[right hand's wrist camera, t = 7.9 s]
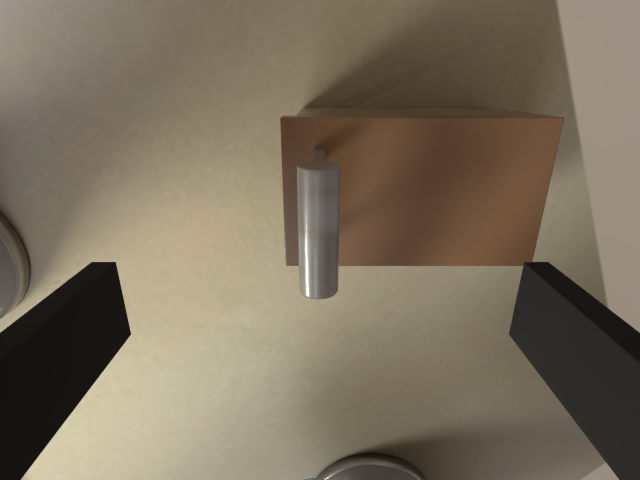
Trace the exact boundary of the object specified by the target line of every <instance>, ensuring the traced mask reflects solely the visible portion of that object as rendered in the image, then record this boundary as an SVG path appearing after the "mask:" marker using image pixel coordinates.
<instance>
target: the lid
mask: <svg viewBox="0 0 640 480" xmlns="http://www.w3.org/2000/svg"><path fill="white" fill-rule="evenodd" d="M280 119H281V147H282V175H283V203H284V231H285V259H286V266H299V286H300V292H301V293H302V295H304V296H306V297H308V298H312V299H326V298H329V297H332V296H334V295H335V294H336V293H337V291H338V266H524V262H532V260H533V256H534V251H535V247H536V242H537V238H538V233H539V229H540V224H541V220H542V215H543V211H544V206H545V202H546V197H547V192H548V188H549V183H550V179H551V174H552V170H553V165H554V161H555V156H556V152H557V147H558V143H559V138H560V134H561V129H562V124H563V120H564V118H563V117H555V116H282V117H281V118H280Z"/></svg>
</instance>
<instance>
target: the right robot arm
mask: <svg viewBox="0 0 640 480" xmlns="http://www.w3.org/2000/svg"><path fill="white" fill-rule="evenodd" d="M28 283H29V264H28V259H27V255H26V252H25V249H24V247H23V244H22V242H21V240H20V238H19V237H18V235H17V234H16V232H15V230H14V229H13V228H12V226H11V225H10V224H9V222H8V221H7V220H6V219H5V218H4V217H3V216H2V215H1V214H0V319H1V318H2V317H3V316H5V315H6V314H7V313H9V312H10V311H12V310H13V309H14V308H15V307H16V306H17V305H18V304H19V303H20V302H21V300H22V299H23V297H24V295H25V293H26V291H27V287H28ZM130 335H131V332H130V327H129V323H128V318H127V313H126V309H125V304H124V299H123V294H122V290H121V285H120V280H119V276H118V271H117V266H116V262H91V263H90V264H89V265H88V266H86V267H85V268H84V269H82V270H81V271H80V272H78V273H77V274H76V275H75V276H73V277H72V278H71V279H69V280H68V281H67V282H66V283H64V284H63V285H62V286H60V287H59V288H58V289H56V290H55V291H54V292H53V293H51V294H50V295H49V296H47V297H46V298H45V299H44V300H42V301H41V302H40V303H38V304H37V305H36V306H34V307H33V308H32V309H31V310H29V311H28V312H27V313H25V314H24V315H23V316H22V317H20V318H19V319H18V320H16V321H15V322H14V323H12V324H11V325H10V326H9V327H7V328H6V329H5V330H3V331H2V332H1V333H0V480H21V478H22V477H23V476H24V474H25V473H26V472H27V470H28V469H29V468H30V467H31V465H32V464H33V463H34V461H35V460H36V459H37V457H38V456H39V455H40V453H41V452H42V451H43V449H44V448H45V447H46V445H47V444H48V443H49V442H50V440H51V439H52V438H53V436H54V435H55V434H56V432H57V431H58V430H59V428H60V427H61V426H62V424H63V423H64V422H65V420H66V419H67V418H68V417H69V415H70V414H71V413H72V411H73V410H74V409H75V407H76V406H77V405H78V403H79V402H80V401H81V399H82V398H83V397H84V395H85V394H86V393H87V392H88V390H89V389H90V388H91V386H92V385H93V384H94V382H95V381H96V380H97V378H98V377H99V376H100V374H101V373H102V372H103V370H104V369H105V368H106V367H107V365H108V364H109V363H110V361H111V360H112V359H113V357H114V356H115V355H116V353H117V352H118V351H119V349H120V348H121V347H122V346H123V344H124V343H125V342H126V340H127V339H128V338H129V336H130ZM509 335H510V336H511V338H512V339H513V340H514V342H515V343H516V344H517V346H518V347H519V348H520V349H521V351H522V352H523V353H524V355H525V356H526V357H527V359H528V360H529V361H530V363H531V364H532V365H533V367H534V368H535V369H536V370H537V372H538V373H539V374H540V376H541V377H542V378H543V380H544V381H545V382H546V384H547V385H548V386H549V388H550V389H551V390H552V392H553V393H554V394H555V395H556V397H557V398H558V399H559V401H560V402H561V403H562V405H563V406H564V407H565V409H566V410H567V411H568V413H569V414H570V415H571V417H572V418H573V419H574V420H575V422H576V423H577V424H578V426H579V427H580V428H581V430H582V431H583V432H584V434H585V435H586V436H587V438H588V439H589V440H590V442H591V443H592V444H593V445H594V447H595V448H596V449H597V451H598V452H599V453H600V455H601V456H602V457H603V459H604V460H605V461H606V463H607V464H608V465H609V467H610V468H611V469H612V470H613V472H614V473H615V474H616V476H617V477H618V478H619V480H640V333H639V332H638V331H637V330H635V329H634V328H633V327H631V326H630V325H629V324H627V323H626V322H625V321H624V320H622V319H621V318H620V317H618V316H617V315H616V314H615V313H613V312H612V311H611V310H609V309H608V308H607V307H606V306H604V305H603V304H602V303H600V302H599V301H598V300H596V299H595V298H594V297H593V296H591V295H590V294H589V293H587V292H586V291H585V290H584V289H582V288H581V287H580V286H578V285H577V284H576V283H574V282H573V281H572V280H571V279H569V278H568V277H567V276H565V275H564V274H563V273H562V272H560V271H559V270H558V269H556V268H555V267H554V266H552V265H551V264H550V263H549V262H524V266H523V271H522V276H521V280H520V285H519V290H518V294H517V299H516V304H515V309H514V313H513V318H512V323H511V327H510V332H509Z"/></svg>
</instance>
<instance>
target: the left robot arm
mask: <svg viewBox="0 0 640 480" xmlns="http://www.w3.org/2000/svg"><path fill="white" fill-rule="evenodd" d="M305 480H425V479H424V477H423V476H422V475H421V473H420V472H419V471H418V470H417V469H416V468H414V467H413V466H412V465H410V464H408V463H407V462H405V461H402V460H400V459H397V458H394V457H390V456H385V455H374V454H370V455H359V456H353V457H349V458H346V459H343V460H341V461H338V462H336V463H334V464H332V465H331V466H329V467H328V468H326V469H325V470H324V471H323V472H322V473H321V474H320V475H319V476H318V477H317V478H311V479H305Z"/></svg>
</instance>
